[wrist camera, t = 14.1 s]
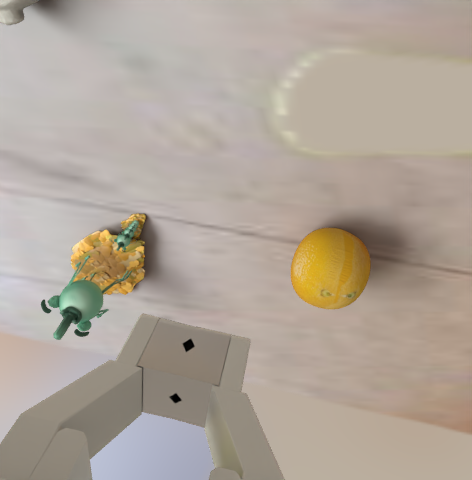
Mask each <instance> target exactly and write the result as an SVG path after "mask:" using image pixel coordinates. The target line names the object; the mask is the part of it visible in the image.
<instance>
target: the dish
mask: <svg viewBox="0 0 472 480" xmlns="http://www.w3.org/2000/svg"><path fill="white" fill-rule="evenodd" d="M38 1H40V0H0V23H3V24H6V25H12V24H17V23H19V22H21V21H23V20H24V13H23V9H24V8H25V7H27V6H30V5H32V4H34V3H36V2H38Z"/></svg>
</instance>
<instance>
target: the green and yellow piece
mask: <svg viewBox="0 0 472 480" xmlns="http://www.w3.org/2000/svg"><path fill="white" fill-rule="evenodd" d="M145 220H146V216H145V214H134V215H133V214H132V215H131V216H130V218H129V219H127V220H125V221H122V222H121V224H122V227H121V228H123V229H122V230H123V231H122V234H121V235H119V234H118V235H111V234H110V233H109V231H108V230H104V231H103V232H101V231H96V232H95V233H93V234H91V235H89V236H87V237H85V238H84V239H83V240H82V241H80V242H79V243H77V244H76V245H75V246H74V247H73V248H72V251H73V252H74V254H73V255H72V256H71V258H72V259H71V261H72V262H73V263H71V265H72V268H73V269H75V270H76V271H75V273H74V275H73V277H72V279H71V280H70V282H69V284H68V285H67V286H66V287H65V288H64V290H63V291H62V293H61V295H60V296H53V297H52V298H50V299H49V301H48V303H49V306H51V307H53V308H57V307H59V309H60V311H61V312H60V314H62V316H63V318H64V319H63V320H62V322H61V323H60V325H59V327H58V328H57V330H56V331H55V332H54V338H55V339H57V340H60V339H61V338H62V337H63V335H64V334H65V332H66V331H67V329H68V327H69V326H70V324H71V323H74V324H78V323H79V324H78V325H77V327H78V329H79V330H80V331H87V330H89V329H90V327H91V322H90V321H89V320H90V319H92V318H94V317H95V316H97V318H99V317H101V316H102V315H103V314H104V313H105V312H107V311H108V310H109V309H106V310H101V311H100V309H101V307H102V305H103V294H106V293H107V294H108V295H110V294H112V293H116V294H118V293H122V294H125V295H126V294H127V293H128V292H132V290H133V287H134V286H135V285H136V283H138V282H140V281H141V280H142V279H143V278H144V272H145V270H144V269H143V268H142V267H143V264H144V258H145V255H144V247H145V246H143V245H144V243H145V242H143V241H142V240H137V241H136V240H131V238H133V239H140V237H139V235H140V234H141V233H140V232H141V231H142V230H141V229H142V228H143V224H144V223H145ZM120 233H121V232H120ZM144 267H145V266H144ZM75 274H76V275H75ZM41 307H42V310H43V311H44V312H45V313H50V312H51V310H50V309H48V308H47V307H46V304H45V300H43V301H42V302H41ZM100 312H103V313H101V314H99V313H100ZM78 329H76V330H75V331H74V333H75V334H76V335H77V336H80V337H83V336H87V335H88V334H89V332H80V331H79V330H78Z"/></svg>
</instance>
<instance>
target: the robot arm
mask: <svg viewBox="0 0 472 480" xmlns="http://www.w3.org/2000/svg"><path fill="white" fill-rule="evenodd" d="M231 335H232V334H227V333H223V332H218V331H214V330H209V329H205V328H200V327H194V326H190V325H186V324H182V323H179V322H175V321H171V320H167V319H164V318H159V317H155V316H151V315H147V314H142V315H141V316H140V317H139V318H138V320H137V322H136V323H135V325H134V327H133V329H132V331H131V333H130V335H129V336H128V338H127V340H126V342H125V344H124V346H123V348H122V349H121V351H120V353H119V355H118V357H117V359H116V361H112V360H109V361H107V362H106V363H104V364H102V365H101V366H99V367H97V368H96V369H94V370H92V371H91V372H89V373H87V374H86V375H84V376H83V377H81V378H79V379H78V380H76V381H74V382H73V383H71V384H69V385H68V386H66V387H64V388H63V389H61V390H60V391H58V392H56V393H55V394H53V395H51V396H50V397H48V398H46V399H45V400H43V401H41V402H40V403H38V404H37V405H35V406H33V407H32V408H30V409H28V410H27V411H25V412H24V413H22V414H21V415H20V416H19V418H18V419H17V421H16V422H15V424H14V425H13V426H12V428H11V429H10V431H9V432H8V434H7V435H6V436H5V438H4V439H3V441H2V442H1V444H0V480H92V473H91V467H90V459H91V458H92V457H93V456H94V455H95V454H96V453H98V452H99V451H100V450H101V449H102V448H103V447H105V446H106V445H107V444H108V443H109V442H110V441H111V440H112V439H114V438H115V437H116V436H117V435H118V434H119V433H120V432H122V431H123V430H124V429H125V428H126V427H127V426H128V425H130V424H131V423H132V422H133V421H134V420H135V419H136V418H138V416H140V415H141V412H145V413H149V414H154V415H158V416H163V417H167V418H172V419H175V420H179V421H183V422H186V423H190V424H193V425H197V426H201V427H204V428H205V432H206V436H207V440H208V444H209V448H210V451H211V455H212V459H213V462H214V466H215V469H214V470H212V471H211V473H210V477H209V480H285V479H284V477H283V474H282V472H281V470H280V468H279V465H278V463H277V461H276V459H275V457H274V454H273V452H272V450H271V447H270V445H269V443H268V441H267V438H266V436H265V434H264V432H263V429H262V427H261V425H260V423H259V420H258V418H257V416H256V414H255V412H254V409H253V407H252V405H251V402H250V400H249V398H248V395H247V394H246V393H242V392H241V390H242V384H243V379H244V374H245V368H246V363H247V358H248V352H249V347H250V339H248V338H243V337H239V336H235V335H232V336H231Z"/></svg>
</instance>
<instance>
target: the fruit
mask: <svg viewBox="0 0 472 480" xmlns="http://www.w3.org/2000/svg"><path fill="white" fill-rule="evenodd" d="M370 266H371V265H370V256H369V252H368V250H367V248H366V246H365V245H364V243H363V242H362V241H361V240H360V239H359V238H357V237H356V236H354V235H353V234H351V233H349V232H347V231H344V230H342V229H338V228H322V229H318V230H315V231H313V232H311V233H310V234H308V235H307V236H306V237H305V238H304V239H303V240H302V242H301V243H300V244H299V246H298V248H297V250H296V252H295V254H294V257H293V261H292V265H291V281H292V285H293V287H294V290H295V291H296V293H297V294H298V296H299V297H300V298H301V299H302V300H304V301H305V302H307V303H308V304H311V305H313V306H316V307H319V308H324V309H339V308H343V307H345V306H347V305H349V304H351V303H352V302H354V301H355V300H356V299H357V298H358V297H359V296H360V294H361V293H362V292H363V290H364V288H365V286H366V284H367V281H368V278H369V274H370Z"/></svg>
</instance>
